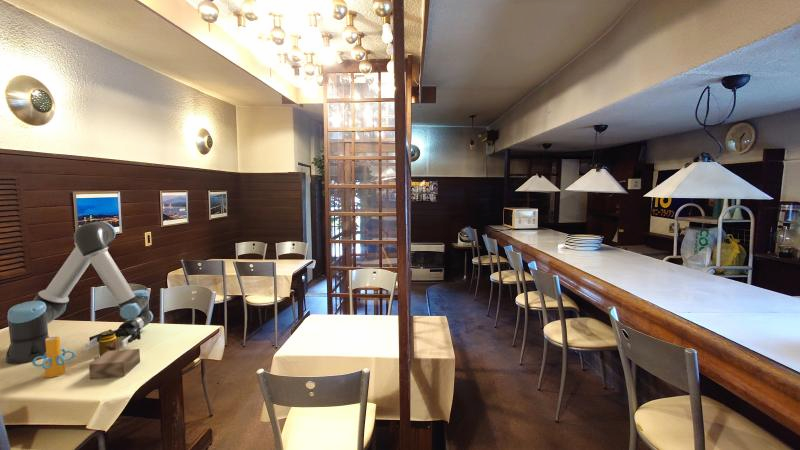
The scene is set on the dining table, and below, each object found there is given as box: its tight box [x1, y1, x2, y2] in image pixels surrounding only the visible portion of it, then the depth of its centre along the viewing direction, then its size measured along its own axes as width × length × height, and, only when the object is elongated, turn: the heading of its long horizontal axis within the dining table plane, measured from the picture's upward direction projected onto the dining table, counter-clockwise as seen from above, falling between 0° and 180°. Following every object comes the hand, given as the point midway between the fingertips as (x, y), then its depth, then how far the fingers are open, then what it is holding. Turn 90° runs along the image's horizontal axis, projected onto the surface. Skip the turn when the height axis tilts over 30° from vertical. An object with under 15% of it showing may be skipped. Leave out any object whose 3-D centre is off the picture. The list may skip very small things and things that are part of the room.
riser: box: [88, 348, 141, 380], centre depth 145 cm, size 12×12×6 cm
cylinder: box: [31, 335, 76, 378], centre depth 141 cm, size 12×10×15 cm
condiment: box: [93, 329, 118, 361], centre depth 154 cm, size 7×8×12 cm
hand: (104, 345), depth 153 cm, fingers open, 13 cm apart
